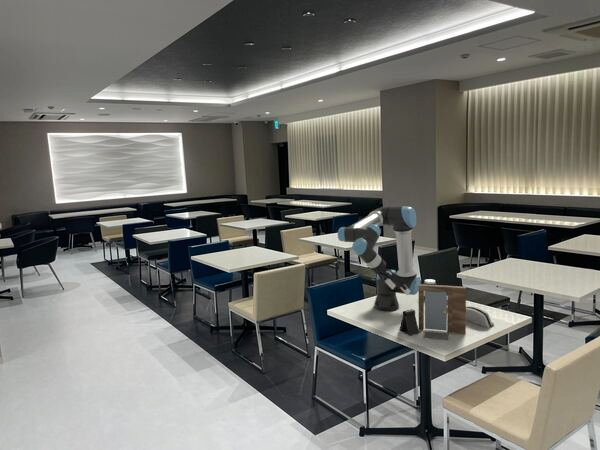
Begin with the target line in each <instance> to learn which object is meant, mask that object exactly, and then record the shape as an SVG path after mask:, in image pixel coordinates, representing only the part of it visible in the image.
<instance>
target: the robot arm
mask: <svg viewBox="0 0 600 450" xmlns="http://www.w3.org/2000/svg"><path fill="white" fill-rule="evenodd" d="M417 221H418V220H417V213H416V211H415V209H414V208H413V207H411V206H405V205H404V206H397V205H395V206H393V205H392V206H391V205H386V206H381V207H378V208H376V209H374V210H372V211H371V212H369V214H368V215H367V216H365V217H364V218H362V219H360V220H359V221H357V222H355V223H353V224H351V225H349V226H347V227H345V226H342V227H340V228H339V229H338V231H337V238H338V240H339V241H340V242H345V243H352V245H351V248H352V250H353V251H354V253H355V254H356V255H357V256H358V257H359V258H360V259H361V260H362V261H363V262H364V263H365V264H366V266H367V267H369V268H370V270H371V271H372V272H373V273H374V274H376V297H375V300H374V302H373V307H374V309H375V310H378V311H384V312H391V311H396V310H399V308H400V305H399V301H398V297H397V294H401V295H402V294H404V295H406V296H410V295H412V296H415V295H418V293H419V284H422V283H421V282H422V279H421V276H420V275H417V274H418V273H417V270H416V269H415V268H414V258H413V257H414V256H413V243H412V242H413V241H412V231H413V230H414V227H416V225H417ZM382 226H384V227H386V226H387V227H392V231H393V232H394V233H395V239H396V241H395V242H396V250H397V262H398V270H397V271H396V270H395V269H388V268H387V262H386V261H385V260H384V259H383V258H382V257H381V255H379V253H378V252H377V251H376V250H375V249H374V248H375V246H376V244H377V242H378V240H379V238H380V235H381V233H382V231H381V230H382V229H381V228H380V227H382Z"/></svg>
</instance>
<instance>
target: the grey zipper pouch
mask: <svg viewBox="0 0 600 450" xmlns="http://www.w3.org/2000/svg"><path fill="white" fill-rule="evenodd" d="M466 321H469V322H472V323H474V324H478V325H480V326H482V327H486V328H491V327H490V326H492V327H493V326H494V327H495V324H494V322H492V318H491V317H490V315H489V313H488V312H487V311H486V310H483V309H482V308H480V307H478V306H473V305H469V306H467V305H466Z"/></svg>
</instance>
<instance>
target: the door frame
mask: <svg viewBox="0 0 600 450" xmlns="http://www.w3.org/2000/svg"><path fill="white" fill-rule="evenodd" d="M423 284H424V283H423ZM423 284H422V283H421V284H419V291H418V330H419V331H424V330H425V298H424V290H426V291H443V292H447V331H446V333H449V334H457V335H458V334H459V335H466V329H467V327H466V326H467V322H466V321H467V320H466V307H467V286H457V285H439V284H438V285H437V284H436V285H423Z"/></svg>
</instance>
